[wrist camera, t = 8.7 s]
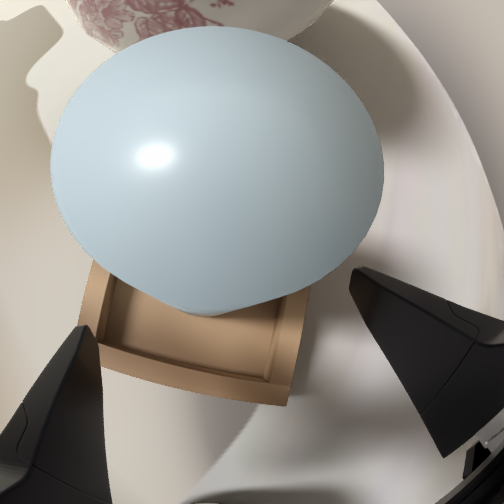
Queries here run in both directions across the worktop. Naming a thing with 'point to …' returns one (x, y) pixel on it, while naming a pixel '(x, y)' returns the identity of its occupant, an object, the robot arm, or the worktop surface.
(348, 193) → the pale blue rounded cylinder
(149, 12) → the chamber pot
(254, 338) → the tray
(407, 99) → the worktop surface
